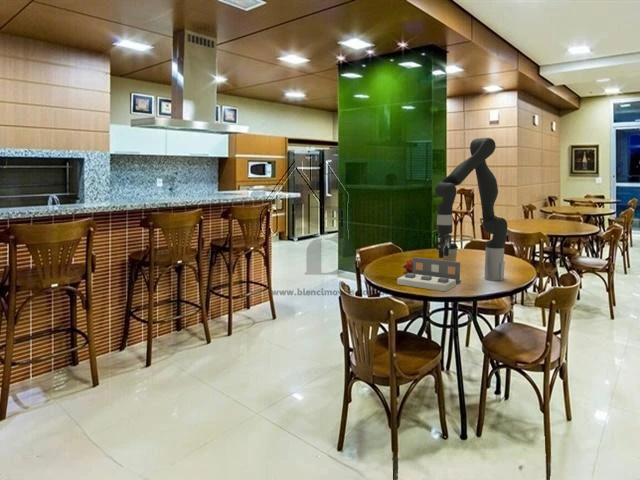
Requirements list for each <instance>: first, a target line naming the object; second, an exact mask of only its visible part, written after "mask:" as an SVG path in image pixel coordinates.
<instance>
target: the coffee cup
mask: <svg viewBox="0 0 640 480" xmlns="http://www.w3.org/2000/svg"><path fill="white" fill-rule="evenodd" d="M442 247H443V246H442ZM458 249H459V246H458V245H457V243H452V242H451V247H450V248H449V255H448V256H444V257H443V258H442V260H444V261H453V262H457V255H458V254H457V253H458V252H457V251H458Z"/></svg>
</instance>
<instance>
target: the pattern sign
mask: <svg viewBox="0 0 640 480" xmlns="http://www.w3.org/2000/svg"><path fill="white" fill-rule="evenodd" d="M412 260H413V272H412V273H413V274H418V275H428V276H433V277H440V278H441V277H443V278H449V279H455V280H456V285H459V284H460V283H462V280H461V279H460V278H461V261H460V262H459V261H456V262H453V261H444V260H443V259H433V258H424V257H414V256H413V257H412Z"/></svg>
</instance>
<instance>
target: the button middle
mask: <svg viewBox="0 0 640 480" xmlns="http://www.w3.org/2000/svg"><path fill="white" fill-rule="evenodd" d="M431 279H432V276H428V275H423V276H421V280H427V281H430V280H431Z"/></svg>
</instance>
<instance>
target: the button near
mask: <svg viewBox="0 0 640 480" xmlns="http://www.w3.org/2000/svg"><path fill="white" fill-rule="evenodd" d="M438 282H441V283H447V282H449V278H443V277H441V278H439V279H438Z"/></svg>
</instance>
